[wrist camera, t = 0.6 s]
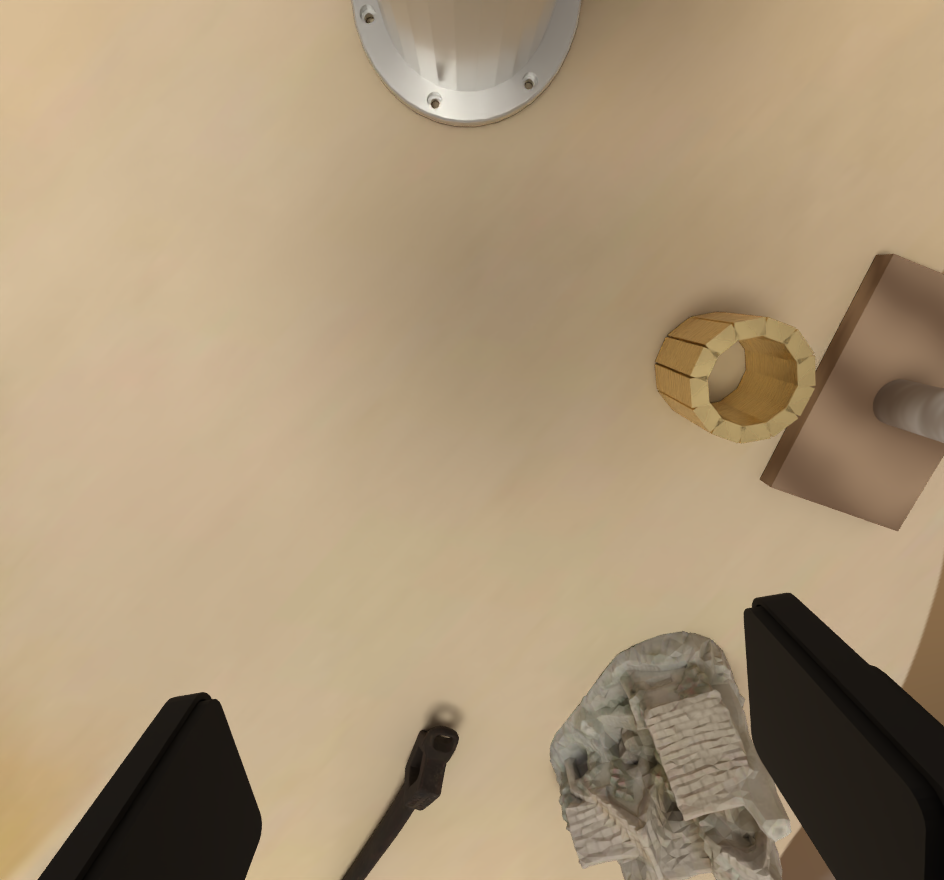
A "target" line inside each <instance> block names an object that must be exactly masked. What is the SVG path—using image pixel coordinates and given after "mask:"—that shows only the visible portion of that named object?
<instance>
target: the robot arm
mask: <svg viewBox="0 0 944 880" xmlns="http://www.w3.org/2000/svg"><path fill="white" fill-rule="evenodd" d="M351 2H352V8H353V14H354V20H355V25H356V28H357V31H358V34H359V37H360V40H361V43H362V46H363V48H364V51H365V53H366V55H367V57H368V59H369V61H370V63H371V65H372V67H373V68H374V70H375V71H376V73H377V74H378V76H379V77H380V79H381V81H382V82H383V84H384V85H385V86H386V87H387V88H388V89H389V90H390V91H391V92H392V93H393V94H394V95H395V96H396V97H397V98H398V100H400V101H401V102H402V103H404V104H405V105H406V106H408V107H409V108H411V109H412V110H413V111H415V112H416V113H418V114H420V115H422V116H425V117H427V118H429V119H431V120H433V121H435V122H440V123H444V124H448V125H453V126H481V125H486V124H491V123H495V122H498V121H500V120H503V119H505V118H507V117H510V116H512V115H514V114H516V113H518V112H519V111H520V110H522V109H523V108H525V107H526V106H528V105H529V104H531V103H532V102H533V101H534V100H535V99H536V98H537V97H538V96H539V95H540V94H541V93H542V92H543V91H544V90H545V89H546V88H547V87H548V86H549V84H550V83H551V81H552V80H553V78H554V77H555V75H556V74H557V72H558V71H559V69H560V68H561V66H562V64H563V61H564V59H565V57H566V55H567V53H568V51H569V49H570V46H571V43H572V40H573V37H574V34H575V32H576V29H577V24H578V19H579V13H580V7H581V0H351ZM368 17H373V18H374V21H373V22H371V23H366V19H367V18H368ZM526 82H531V83H532V85H533V88H532V89H530V90H528V89H526V88H525V86H524V84H525V83H526ZM433 101H438V102H439V107H438V108H436V109H433V108H432V107H431V103H432V102H433ZM744 629H745V644H746V659H747V674H748V689H749V703H750V718H751V733H752V739H753V743H754V746H755V749H756V752H757V754H758V756H759V758H760V760H761V762H762V763H763V765H764V766H765V768H766V770H767V771H768V773H769V774H770V776H771V777H772V779H773V781H774V782H775V784H776V785H777V787H778V789H779V790H780V792H781V793H782V795H783V796H784V798H785V800H786V801H787V803H788V804H789V806H790V808H791V809H792V811H793V812H794V814H795V815H796V817H797V819H798V820H799V822H800V823H801V825H802V827H803V828H804V830H805V831H806V833H807V834H808V836H809V837H810V839H811V841H812V842H813V844H814V845H815V847H816V849H817V850H818V852H819V853H820V855H821V857H822V858H823V860H824V861H825V863H826V864H827V866H828V868H829V869H830V871H831V872H832V874H833V876H834V877H835V879H836V880H944V726H943V725H942V724H941V723H939V722H938V721H937V720H936V719H935V718H934V717H933V716H932V715H931V714H930V713H928V712H927V711H926V710H925V709H924V708H923V707H922V706H921V705H920V704H919V703H918V702H916V701H915V700H914V699H913V698H912V697H911V696H910V695H909V694H907V692H905V691H904V690H903V689H902V688H901V687H900V686H899V685H898V684H897V683H896V682H894V681H893V680H892V679H891V678H890V677H889V676H888V675H887V674H886V673H884V672H883V671H881V670H880V669H879V668H877V667H875V666H872V665H869V664H868V663H867V662H866V661H865V660H864V659H862V658H861V657H860V656H859V655H858V654H857V653H856V652H855V651H854V650H853V649H852V648H851V647H849V646H848V645H847V644H846V643H845V642H844V641H843V640H842V639H841V638H840V637H839V636H838V635H836V634H835V633H834V632H833V631H832V630H831V629H830V628H829V627H828V626H827V625H826V624H825V623H823V622H822V621H821V620H820V619H819V618H818V617H817V616H816V615H815V614H814V613H813V612H812V611H810V610H809V609H808V608H807V607H806V606H805V605H804V604H803V603H802V602H801V601H800V600H799V599H797V598H796V597H795V596H794V595H792V594H791V593H782V594H776V595H770V596H765V597H759V598H755V599H754V600H753V603H752V608H747V609H745V611H744ZM261 830H262V820H261V814H260V811H259V808H258V806H257V803H256V800H255V797H254V795H253V792H252V789H251V786H250V783H249V781H248V778H247V775H246V772H245V770H244V767H243V764H242V761H241V758H240V756H239V753H238V750H237V747H236V745H235V742H234V739H233V736H232V734H231V731H230V728H229V725H228V722H227V720H226V717H225V714H224V711H223V709H222V706H221V704H220V702H219V701H218V700H217V699H211V697H210V695H208V694H207V693H204V692H201V693H196V694H190V695H184V696H178V697H173V698H171V699H169V700H168V701H167V702H166V703H165V705H164V706H163V707H162V709H161V710H160V712H159V713H158V714H157V716H156V717H155V718H154V720H153V721H152V723H151V724H150V725H149V727H148V728H147V729H146V731H145V732H144V734H143V735H142V736H141V738H140V739H139V740H138V742H137V743H136V745H135V746H134V747H133V749H132V750H131V752H130V753H129V754H128V756H127V757H126V758H125V760H124V761H123V763H122V764H121V765H120V767H119V768H118V769H117V771H116V772H115V774H114V775H113V776H112V778H111V779H110V781H109V782H108V783H107V785H106V786H105V787H104V789H103V790H102V792H101V793H100V794H99V796H98V797H97V798H96V800H95V801H94V803H93V804H92V805H91V807H90V808H89V809H88V811H87V812H86V814H85V815H84V816H83V818H82V819H81V821H80V822H79V823H78V825H77V826H76V827H75V829H74V830H73V832H72V833H71V834H70V836H69V837H68V838H67V840H66V841H65V843H64V844H63V845H62V847H61V848H60V849H59V851H58V852H57V854H56V855H55V856H54V858H53V859H52V861H51V862H50V863H49V865H48V866H47V867H46V869H45V870H44V872H43V873H42V874H41V876H40V877H39V878H38V880H245V878H246V875H247V872H248V870H249V867H250V864H251V862H252V859H253V856H254V854H255V851H256V848H257V846H258V843H259V840H260V836H261Z"/></svg>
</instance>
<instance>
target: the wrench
mask: <svg viewBox="0 0 944 880" xmlns="http://www.w3.org/2000/svg"><path fill="white" fill-rule="evenodd" d="M439 735H444V736H449V737H450V738H445V737H441V736H439ZM458 740H459V737H458V734H457V732H456V731H455V730H453V729H451V728H447V727H443V726H438V727H435V728H432V729H431V730H429V731H428V732H426V731H420V732H419V734H418V737H417V740H416V743H415V745H414V748H413V750H412V753H411V755H410V758H409V760H408V762H407V765H406V768H405V783H404V785H403V786H402V788H401V790H400V791H399V793H398V795H397V797H396V798H395V800H394V802H393V803H392V805H391V806H390V808H389V810H388V811H387V813H386V815H385V816H384V818H383V819H382V821H381V822H380V824H379V826H378V827H377V829H376V830H375V832H374V833H373V835H372V836H371V838H370V839H369V841H368V843H367V844H366V846H365V847H364V849H363V850H362V852H361V853H360V855H359V856H358V858H357V859H356V861H355V862H354V864H353V865H352V867H351V868H350V870H349V871H348V873H347V874H346V875H345V877H344V878H343V880H364V879H365V878H366V877H367V875H368V874H369V873H370V871H371V870H372V869H373V867H374V866H375V864H376V863H377V862H378V860H379V859H380V858H381V856H382V855H383V854H384V852H385V851H386V850H387V848H388V847H389V846H390V844H391V843H392V842H393V840H394V839H395V838H396V836H397V835H398V833H399V832H400V831H401V829H402V828H403V826H404V825H405V823H406V822H407V820H408V819H409V817H410V816H411V814H412V812H413V811H414V809H417V810H423V809H425V808H426V807H427V806H429V805H430V804H431V803H432V802H433V801H435V800H436V799H437V798H438V797H439V796H440V794H441V788H442V783H443V777H444V772H445V767H446V763H447V762H448V761H449V760H450V758H451V756H452V755H453V753H454V751H455V749H456V746H457V744H458Z"/></svg>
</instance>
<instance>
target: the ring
mask: <svg viewBox="0 0 944 880" xmlns="http://www.w3.org/2000/svg"><path fill="white" fill-rule="evenodd" d="M668 336H669V338H668V337H666V338H665V340H664V342H663V345H662V347H661V349H660V351H659V354H658V356H657V358H656V360H655V362H658V363H657V364H655V373H656V384H657V389H658V390H659V391H658V392H659V393H660V394H661V396H662V397H663V398H664V400H665V401H666V402H667V404H668V405H669V406H670V407H671V409H672V410H674V411H675V412H676V413H678V414H680V415H681V416H683V417H685V418H686V419H688V420H690V421H691V422H693V423H695V424H696V425H698V426H700V427H701V428H703V429H704V430H706V431H708V432H709V433H711V434H713V435H716V436H719V437H722V438H725V439H727V440H730V441H733V442H736V443H747V442H753V441H758V440H764V439H769V438H770V436H772V437H774V436H775V435H777V434H778V433H779V432H781V431H782V430H783V429H785V428H786V427H787V426H789V425H790V424H792V423H793V422H794V421H796V420H797V419H798V417H797V416H796V415H799V416H801V414H802V412H803V410H804V408H805V406H806V404H807V403H808V401H809V399H810V397H811V395H812V393H813V391H814V389H815V388H812V387H810V386H816V381H815V356H813V355H812V354H814V352H813V351H812V349H811V348H810V346H809V345H808V343H807V342H806V340H805V339H804V337H803V336H802V334H801V333H800V331H799V330H798V329H796V328H795V327H793V326H790V325H788V324H785V323H782V322H780V321H777V320H774V319H772V318H769V317H762V316H753V315H744V314H735V313H726V312H713V313H707V314H702V315H697V316H691V318H688V319H687V320H685V321H684V322H683V323H682V324H680V325H679V326H678V327H677V328H675V329H674V330H673V331H672V332H670V333H669V334H668ZM737 341H739V342H740V344H741V345H742V346H743V348H744V349H745V359H746V371H745V373H744V375H743V377H742V379H741V381H740V383H739V385H738V387H737V389H736V390H734V391H733V392H732V393H730V394H729V395H728V396H727V397H725V398H724V399H723V400H721V401H719V402H713V403H710V402H709V389H708V377H709V375H710V373H711V371H712V369H713V366H714V364H715V362H716V360H717V358H718V356H719V355H720V354H722V353H723V352H724V351H726V350H727V349H728V348H729V347H731V346H732V345H733V344H735V343H736V342H737Z"/></svg>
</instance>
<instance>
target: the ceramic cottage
mask: <svg viewBox="0 0 944 880" xmlns="http://www.w3.org/2000/svg"><path fill="white" fill-rule="evenodd" d="M744 701H745V699H744V698H743V696H742V695H741V694H740V693H739V690H738V687H737V685H736V683H735V681H734V678H733V673H732V671H731V668H730V666H729V663H728V661H727V659H726V657H725V655H724V653H723V651H722V650H721V649H720V648H719V647H718V646H717V645H716V644H715V643H714V641H713V640H711V639H710V638H706V637H704V636H701V635H698V634H695V633H687V632H684V631H682V632H676V633H670V634H663V635H659V636H656V637H654V638H651V639H648V640H645V641H643V642H641V643H638V644H636V645H635V646H634V647H630V649H627V650H625V651H623V652H621V653H619V654H618V655H616V657H615V658H614V659H613V660H612V662H611V663H610V664H609V666H608V667H607V668H606V669H605V671H604V672H603V673H602V675H600V678H599V679H598V680H597V682H596V683H595V684H594V685H593V686H592V688H591V689H590V690H589V692H588V693H587V695H586V696H584V697H583V699H582V702H581V703H580V705H579V706H577V707H576V710H574V712H573V713H572V714H571V715H570V716H569V718H568V719H567V721H566V722H565V723H564V724H563V726H562V727H561V728H560V729H559V730H558V732H557V733H556V734H555V736H554V739H553V741H552V743H551V747H550V757H551V760H550V762H551V763H552V766H553V769H554V771H555V773H556V776H557V782H558V783H559V785H560V793H561V796H560V799H559V803H560V804H561V806H562V816H563V819H564V820H565V821H566V822H567V827H566V829H567V830H568V831H570V833H571V836H572V840H573V843H574V847H575V849H576V852H577V855H578V858H579V863H580V864H581V867H582V868H583V869H585V868H587V867H589V866H593V865H597V864H601V863H605V862H610V861H616V860H617V862H618V863H619V864H620V866H621V870H622V873H623V876H624V879H625V880H685V879H689V878H691V877H694V876H696V875H699V874H704V873H713V875H714V877H715V879H716V880H783V879H782V867H781V863H780V858H779V854H778V851H777V848H776V846H775V842H776V841H778V840H780V839H782V838H784V837H786V836H788V835H789V834H790V833H791V826H790V820H789V818H788V816H787V813H786V811H785V809H784V807H783V805H782V803H781V801H780V798H779V796H778V794H777V791H776V787H775V783H774V781H773V779H772V777H771V776H770V774H769V773H768V771H767V770H766V768H765V766H764V765H763V763H762V762H761V760H760V758H759V756H758V754H757V752H756V749H755V747H754V744H753V742H752V740H751V738H750V736H749V732H748V726H747V722H746V717H745V712H744V710H743V704H744Z"/></svg>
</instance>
